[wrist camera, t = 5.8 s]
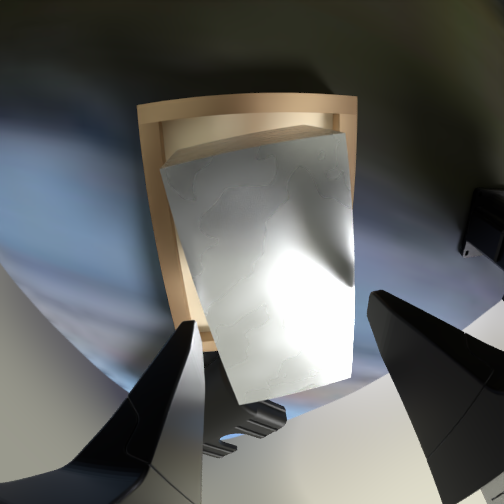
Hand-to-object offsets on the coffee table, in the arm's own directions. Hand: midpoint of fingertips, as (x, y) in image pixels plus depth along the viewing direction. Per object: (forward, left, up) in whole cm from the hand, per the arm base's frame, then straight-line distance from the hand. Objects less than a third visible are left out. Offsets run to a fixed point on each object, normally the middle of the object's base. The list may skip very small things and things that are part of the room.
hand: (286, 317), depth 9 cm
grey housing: (0, 0, -5) cm, 5 cm away
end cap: (+4, +16, -11) cm, 20 cm away
